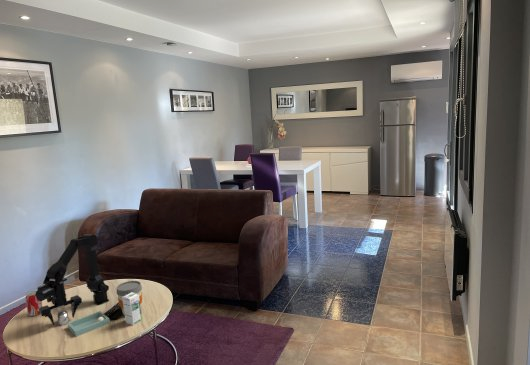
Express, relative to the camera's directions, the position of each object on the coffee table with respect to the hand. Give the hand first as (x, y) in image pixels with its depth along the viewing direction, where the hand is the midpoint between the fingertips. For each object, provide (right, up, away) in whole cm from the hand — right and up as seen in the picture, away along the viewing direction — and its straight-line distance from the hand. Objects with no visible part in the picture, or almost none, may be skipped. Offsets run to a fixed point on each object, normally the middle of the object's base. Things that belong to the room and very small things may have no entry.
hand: (63, 321), depth 202 cm
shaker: (0, -2, 0) cm, 2 cm away
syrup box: (+37, 0, -3) cm, 37 cm away
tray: (+15, -1, -4) cm, 15 cm away
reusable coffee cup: (+32, +2, +8) cm, 33 cm away
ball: (+20, 0, -3) cm, 20 cm away
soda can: (-22, -1, +14) cm, 26 cm away
